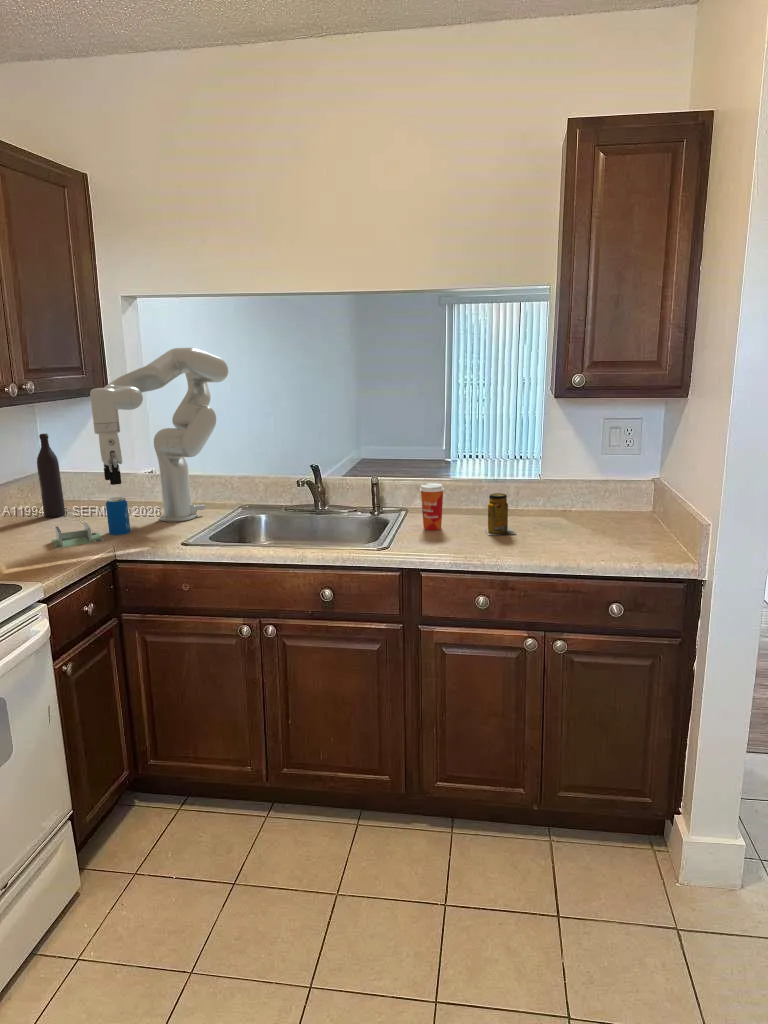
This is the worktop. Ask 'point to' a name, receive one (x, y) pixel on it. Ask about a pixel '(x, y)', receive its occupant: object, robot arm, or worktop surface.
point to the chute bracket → (73, 534)
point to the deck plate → (78, 541)
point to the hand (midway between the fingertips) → (113, 481)
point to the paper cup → (432, 505)
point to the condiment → (498, 515)
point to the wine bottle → (50, 480)
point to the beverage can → (117, 516)
